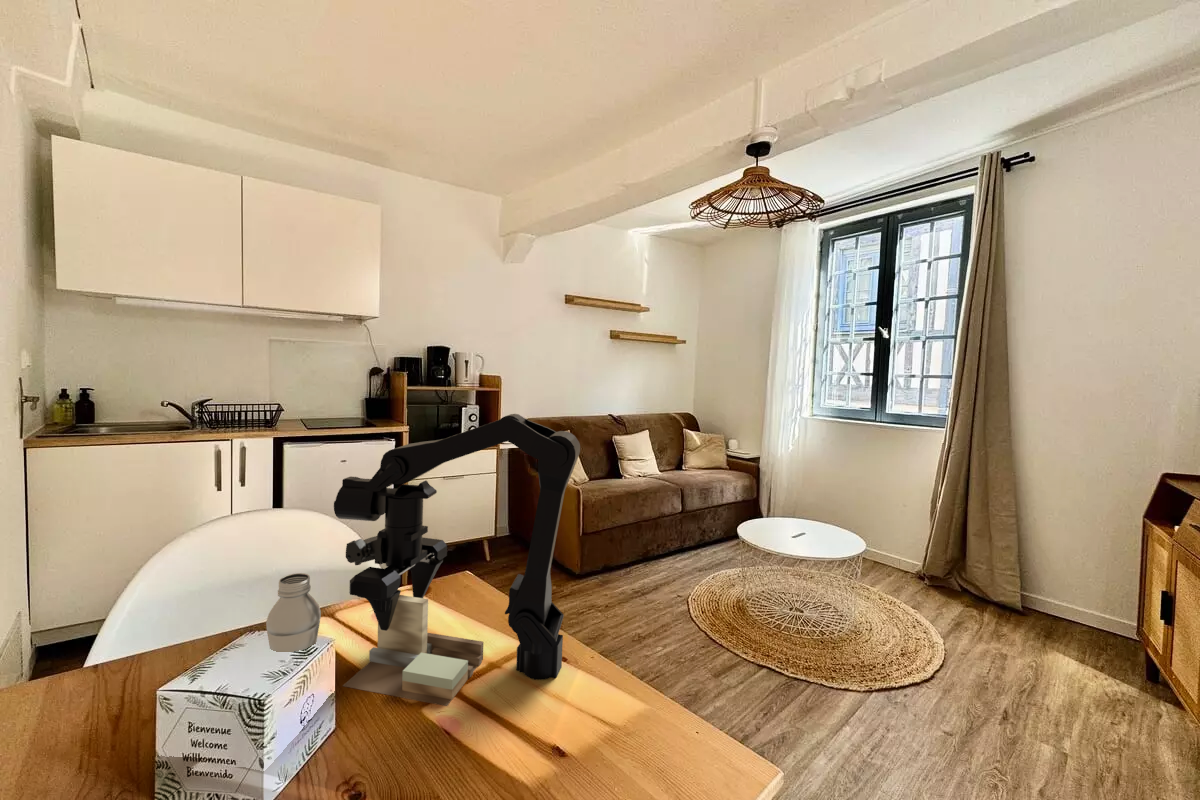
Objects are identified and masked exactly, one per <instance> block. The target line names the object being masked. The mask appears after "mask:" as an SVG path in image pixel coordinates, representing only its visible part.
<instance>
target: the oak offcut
mask: <svg viewBox="0 0 1200 800" xmlns="http://www.w3.org/2000/svg"><path fill="white" fill-rule="evenodd" d="M467 679H468V680H469V678H468V670H467V672H466V673H465V674H464V675H463V677H462V678H461V679H460V680H459V682H458V683H457V684H456V686H455V687H454V688H453V689H452V690H451V689H445V688H440V687H434V686H429V685H424V684H418V683H413V682H407V681H402V690H403V691H408V692H414V693H419V694H424V695H430V696H435V697H440V698H446V699H451V701H453V699H454V698H455V697H456V695H457V694H458V693H459V692H460V691H461V689H462V687H463V686H464V685H465V684H464V683H466V682H467V681H468V680H467ZM460 688H461V689H460ZM457 692H458V693H457ZM454 696H455V697H454Z"/></svg>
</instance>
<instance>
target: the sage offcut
mask: <svg viewBox="0 0 1200 800" xmlns="http://www.w3.org/2000/svg"><path fill="white" fill-rule="evenodd" d="M467 670H468V660H462V659H456V658H450V657H444V656H439V655H433V654H427V653H420V654H419V655H418V656H417V657H416V658H415V659H414V660H413V661H412V662H411V663H410V664H409V665H408V666H407V667H406V668H405V669H404V670H403V676H402V681H407V682H413V683H418V684H424V685H429V686H434V687H440V688H445V689H451V690H452V689H453V688H454V687H455V686H456V684H457V683H458V682H459V680H460V679H461V678H462V677H463V675H464V674H465V673H466V672H467Z"/></svg>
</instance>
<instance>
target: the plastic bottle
mask: <svg viewBox="0 0 1200 800" xmlns="http://www.w3.org/2000/svg"><path fill="white" fill-rule="evenodd" d="M310 582H311V577H310V575H309V574H308V573H302V572H301V573H296V572H295V573H292V574H287V575H284V576H282V577H281V578H280V579H279V580H278V590H277V597H279V598H278V600H277V601H276V602H275V604H274V605H273V606H272V608H271V609H270V610H269V613H268V616H267V619H266V621H265V623H266V626H265V627H266V632H267V640H268V645H269V650H270V649H271V650H273V651H276V652H294V651H299V650H303V649H306V648H308V647H310V646H312V645H314V644H316V642H317V643H318V634H319V631H320V630H319V629H320V624H321V617H322V616H321V615H322V614H321V613H322V611H321V607H320V605H319V603H318V602H317V601H316V600H315V598H314V597H313V596H312V595H311V594H310V593H309V592H311V583H310Z"/></svg>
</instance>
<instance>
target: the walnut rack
mask: <svg viewBox="0 0 1200 800" xmlns="http://www.w3.org/2000/svg"><path fill="white" fill-rule="evenodd" d="M484 644H485V643H484V641H482V640H476V639H471V638H463V637H457V636H452V635H451V636H450V635H447V634H446V635H444V634H437V633H432V632H427V654H433V655H439V656H444V657H450V658H456V659H462V660H468V679H467V681H468V680H469V679H470V678H471V677H472V676H473V675H474V672H475V671H476V669H477V668H478V667H479V666H481V664H482V662H483V660H484ZM368 652H369V654H368V656H369V658H368V660H369V661H368V663H367V664H366V665H365V666H364V667H362V668H360V670H359V671H358V672H356V673H355V674H354V675H353V676H352V677H351V678H350V679H348V680H347V681H346V682H345V683H343V684H342V687H345V688H350V689H355V690H360V691H365V692H371V693H376V694H381V695H387V696H392V697H396V698H401V699H406V700H413V701H418V702H422V703H428V704H433V705H439V706H442V707H443V706H445V707H448V706H449V704H450V703H451V702H452V700H451V699H446V698H440V697H435V696H430V695H424V694H419V693H414V692H408V691H403V690H402V676H403V670H404V669H405V668H406V667H407V666H408V665H409V664H410V663H411V662H412V661H413V660H414V659H415V658H416V657H417V656H418V655H416V654H410V653H404V652H398V651H392V650H387V649H381V648H378V647H372V648H371V649H370V650H369V651H368ZM465 683H466V682H465ZM465 683H464V685H465ZM461 689H462V687H461V688H460V690H461ZM458 693H459V691H458V692H457V694H458ZM455 697H456V695H455V696H454V698H455Z"/></svg>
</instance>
